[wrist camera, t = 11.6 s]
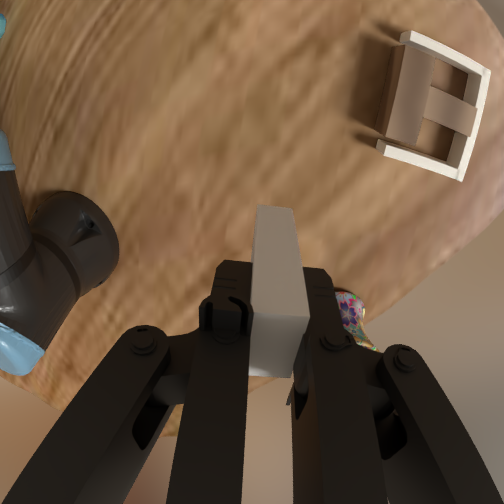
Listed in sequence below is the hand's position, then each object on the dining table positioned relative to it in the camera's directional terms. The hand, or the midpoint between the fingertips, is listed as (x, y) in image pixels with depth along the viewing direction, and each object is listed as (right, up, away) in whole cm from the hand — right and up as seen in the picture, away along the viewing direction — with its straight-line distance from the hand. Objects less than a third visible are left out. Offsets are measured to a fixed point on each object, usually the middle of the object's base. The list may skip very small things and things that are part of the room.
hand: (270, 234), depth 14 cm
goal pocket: (+19, +16, +14) cm, 28 cm away
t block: (+18, +16, +14) cm, 28 cm away
